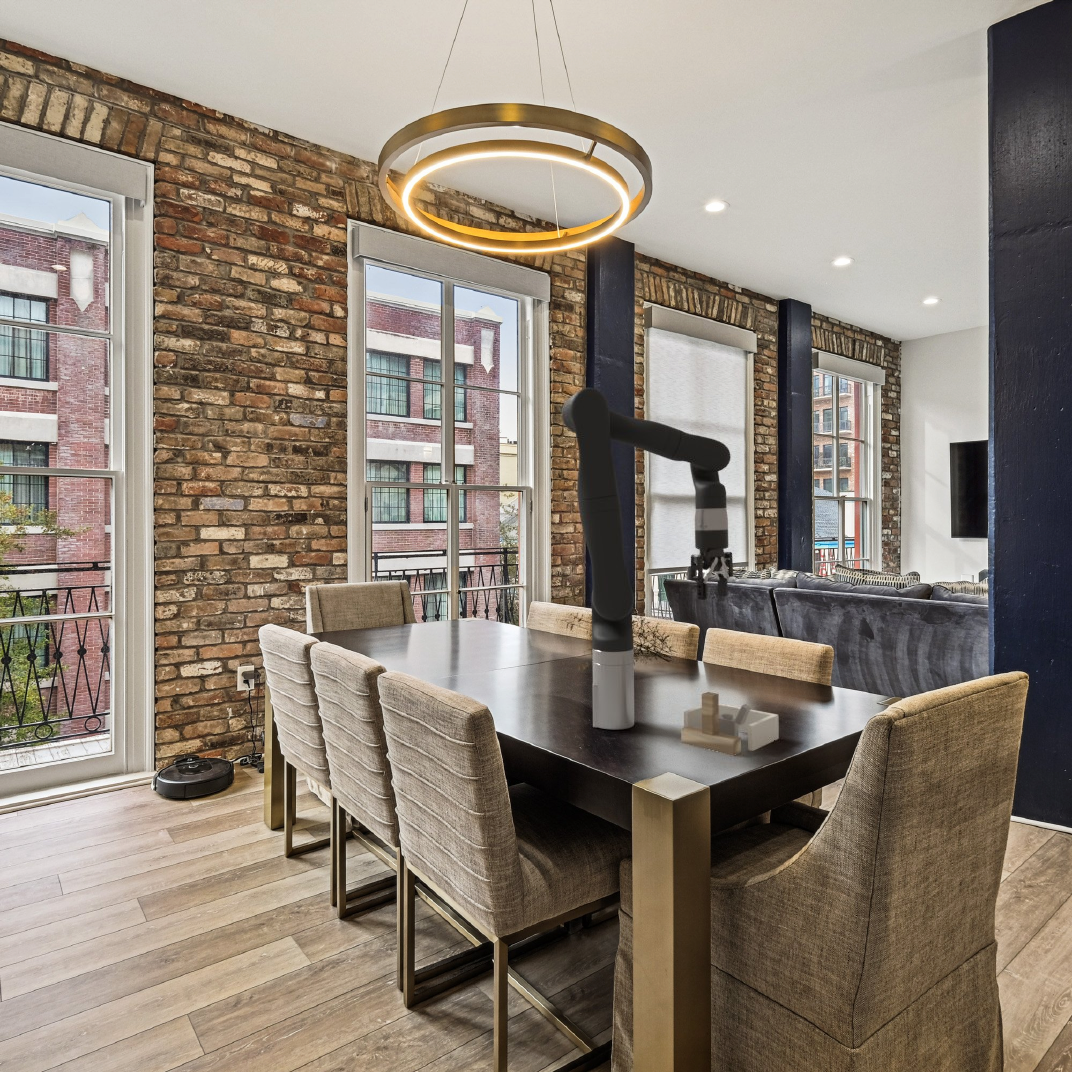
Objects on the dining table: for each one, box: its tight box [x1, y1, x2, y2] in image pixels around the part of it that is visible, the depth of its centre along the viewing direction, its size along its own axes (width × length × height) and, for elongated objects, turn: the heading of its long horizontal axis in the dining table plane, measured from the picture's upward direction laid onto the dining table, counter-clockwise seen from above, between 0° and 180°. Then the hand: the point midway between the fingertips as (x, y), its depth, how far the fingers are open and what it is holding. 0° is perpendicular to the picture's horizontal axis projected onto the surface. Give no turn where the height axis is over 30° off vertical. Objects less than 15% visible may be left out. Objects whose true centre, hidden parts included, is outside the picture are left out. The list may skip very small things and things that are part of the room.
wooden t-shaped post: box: [680, 691, 742, 756], centre depth 148 cm, size 3×12×11 cm, turn 44°
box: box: [683, 703, 780, 752], centre depth 155 cm, size 11×16×5 cm
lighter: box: [719, 703, 752, 737], centre depth 152 cm, size 7×2×8 cm, turn 45°
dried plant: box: [556, 576, 678, 670], centre depth 212 cm, size 30×31×45 cm
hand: (712, 597), depth 170 cm, fingers open, 8 cm apart
